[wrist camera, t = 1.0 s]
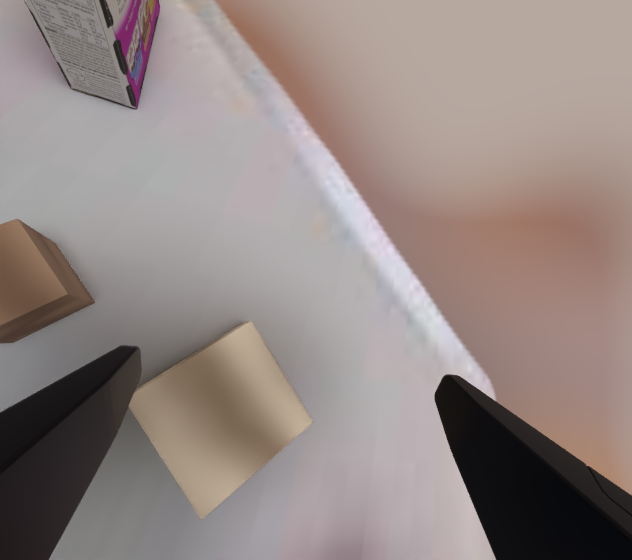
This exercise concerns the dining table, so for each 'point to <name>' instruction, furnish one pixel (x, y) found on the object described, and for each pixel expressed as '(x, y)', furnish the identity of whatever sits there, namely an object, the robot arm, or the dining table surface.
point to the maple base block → (220, 415)
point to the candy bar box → (99, 43)
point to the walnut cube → (34, 283)
